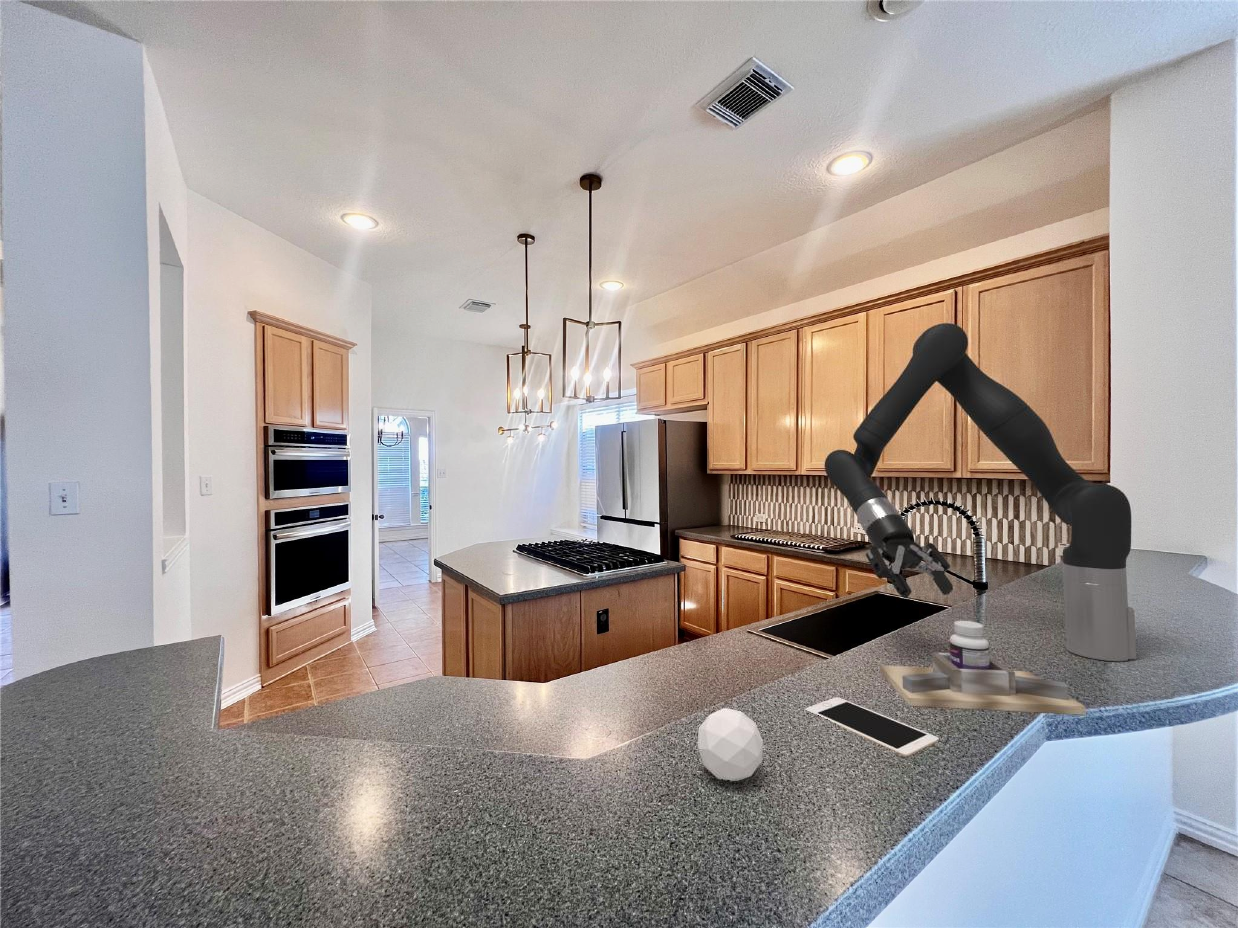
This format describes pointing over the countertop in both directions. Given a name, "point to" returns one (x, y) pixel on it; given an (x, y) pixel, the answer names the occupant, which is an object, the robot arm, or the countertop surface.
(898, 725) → the cell phone
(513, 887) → the countertop surface
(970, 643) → the pill bottle
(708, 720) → the ball
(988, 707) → the base
